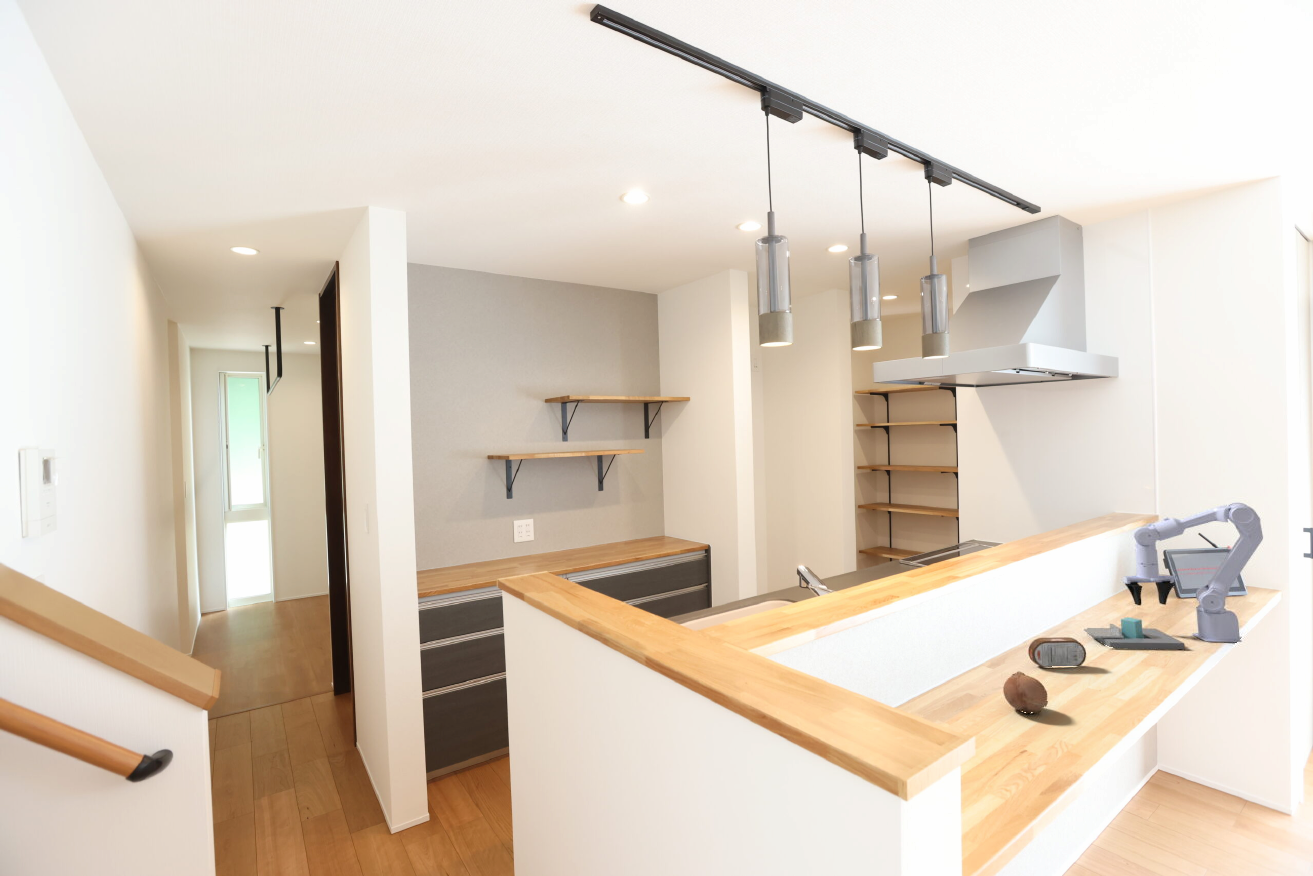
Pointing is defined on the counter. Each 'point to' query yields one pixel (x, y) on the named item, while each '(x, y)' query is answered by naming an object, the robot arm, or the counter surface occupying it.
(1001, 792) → the counter surface
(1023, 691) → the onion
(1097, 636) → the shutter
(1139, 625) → the plug
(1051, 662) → the tin
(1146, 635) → the socket plate
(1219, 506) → the robot arm
